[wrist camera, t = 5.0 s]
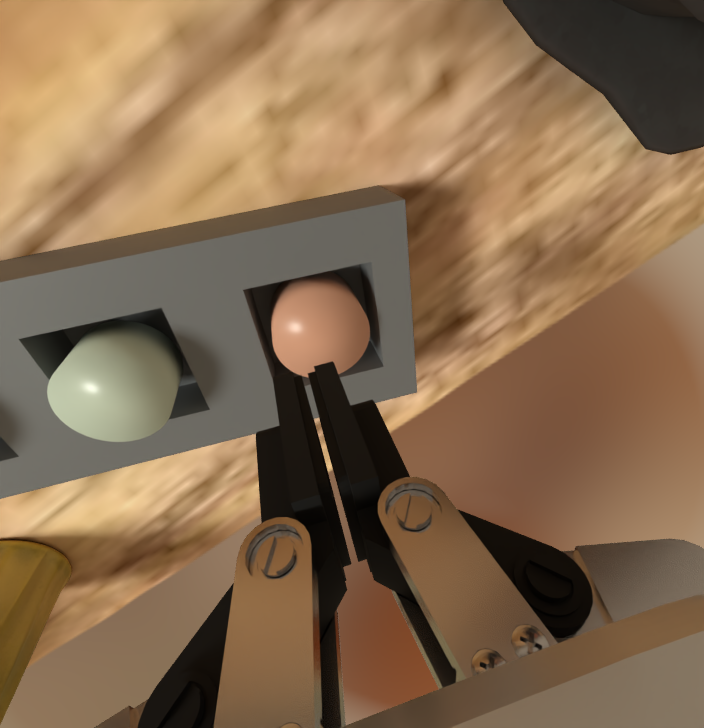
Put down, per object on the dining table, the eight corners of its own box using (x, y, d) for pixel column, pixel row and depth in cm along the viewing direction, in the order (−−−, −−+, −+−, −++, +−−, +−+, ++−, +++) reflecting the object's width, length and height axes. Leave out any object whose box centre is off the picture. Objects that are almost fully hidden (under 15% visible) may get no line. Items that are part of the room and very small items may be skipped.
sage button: (54, 333, 15) (20, 370, 13) (159, 310, 15) (144, 342, 13) (107, 410, 17) (85, 452, 15) (197, 389, 17) (189, 426, 15)
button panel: (-233, 307, 14) (-356, 355, 11) (379, 185, 17) (405, 199, 14) (-55, 466, 19) (-109, 526, 17) (395, 355, 22) (417, 392, 19)
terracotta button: (259, 279, 16) (259, 304, 14) (349, 260, 17) (363, 280, 15) (282, 356, 19) (285, 387, 16) (361, 338, 19) (375, 365, 17)
